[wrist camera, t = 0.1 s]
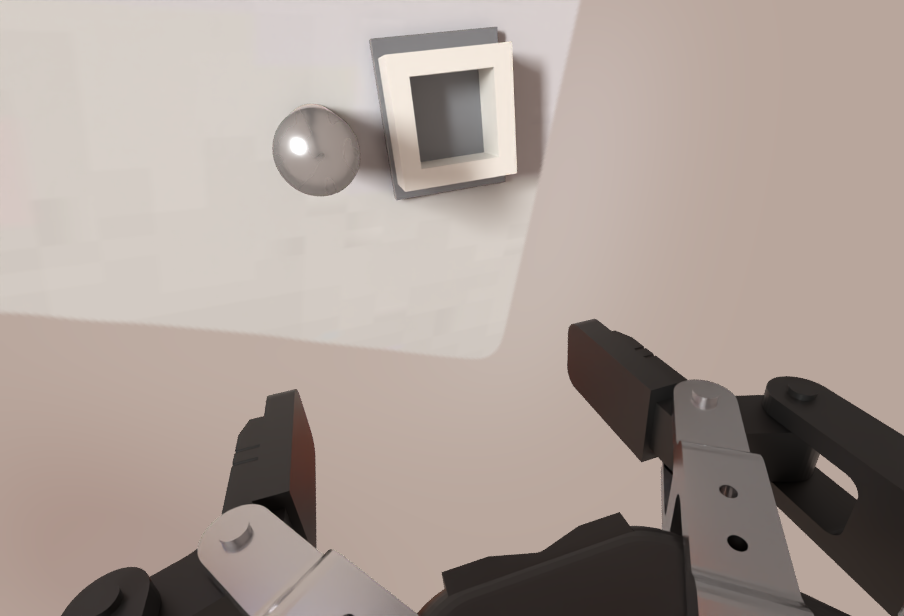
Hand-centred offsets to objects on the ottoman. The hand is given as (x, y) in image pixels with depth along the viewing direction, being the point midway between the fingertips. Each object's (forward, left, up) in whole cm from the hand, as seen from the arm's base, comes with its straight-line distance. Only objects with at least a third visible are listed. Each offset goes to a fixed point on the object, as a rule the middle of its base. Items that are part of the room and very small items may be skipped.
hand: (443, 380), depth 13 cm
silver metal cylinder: (-5, -2, -29) cm, 30 cm away
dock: (-5, +8, -29) cm, 31 cm away
